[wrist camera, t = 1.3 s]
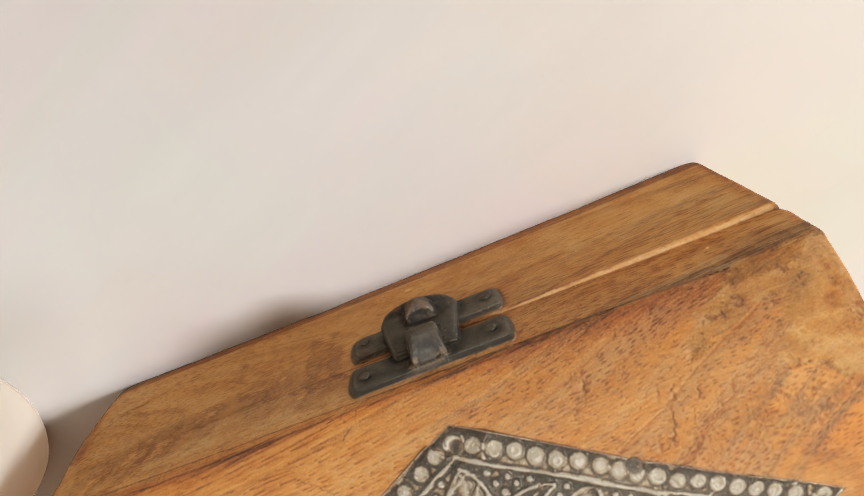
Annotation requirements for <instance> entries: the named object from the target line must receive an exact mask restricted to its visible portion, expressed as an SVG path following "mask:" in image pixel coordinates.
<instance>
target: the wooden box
mask: <svg viewBox="0 0 864 496" xmlns="http://www.w3.org/2000/svg"><path fill="white" fill-rule="evenodd" d="M52 496H864V301H863V299H862V297H861V295H860V293H859V291H858V289H857V287H856V285H855V284H854V282H853V280H852V278H851V276H850V274H849V273H848V271H847V269H846V268H845V266H844V265H843V263H842V261H841V260H840V258H839V256H838V255H837V253H836V252H835V250H834V249H833V247H832V245H831V244H830V243H829V241H828V239H827V237H826V236H825V234H824V233H823V231H822V230H820V229H819V228H817V227H815V226H813V225H812V224H810V223H808V222H806V221H804V220H803V219H801V218H799V217H798V216H796V215H795V214H793V213H791V212H789V211H787V210H782V209H779V207H778V205H777V204H775V203H774V202H772V201H770V200H769V199H766V198H765V197H763V196H761V195H759V194H757V193H755V192H753V191H751V190H749V189H747V188H745V187H744V186H742V185H740V184H738V183H736V182H734V181H732V180H730V179H728V178H726V177H724V176H722V175H720V174H718V173H716V172H714V171H712V170H711V169H708V168H706V167H705V166H703V165H700V164H698V163H689V164H685V165H682V166H679V167H676V168H674V169H672V170H669V171H667V172H665V173H662V174H660V175H657V176H655V177H652V178H650V179H648V180H645V181H643V182H640V183H638V184H636V185H634V186H631V187H629V188H626V189H624V190H621V191H619V192H616V193H614V194H612V195H609V196H607V197H605V198H602V199H600V200H598V201H595V202H593V203H591V204H588V205H586V206H583V207H581V208H579V209H576V210H574V211H572V212H569V213H566V214H564V215H561V216H559V217H556V218H553V219H551V220H548V221H546V222H543V223H541V224H538V225H536V226H533V227H531V228H529V229H526V230H524V231H521V232H519V233H516V234H514V235H512V236H509V237H506V238H504V239H502V240H499V241H497V242H494V243H492V244H489V245H487V246H485V247H482V248H480V249H478V250H475V251H473V252H470V253H468V254H465V255H463V256H461V257H458V258H456V259H453V260H451V261H448V262H446V263H443V264H440V265H438V266H435V267H432V268H430V269H428V270H425V271H423V272H420V273H418V274H415V275H413V276H410V277H408V278H406V279H403V280H401V281H398V282H396V283H394V284H391V285H388V286H386V287H383V288H381V289H378V290H376V291H373V292H371V293H368V294H366V295H363V296H361V297H359V298H356V299H354V300H351V301H349V302H347V303H345V304H343V305H341V306H338V307H336V308H334V309H331V310H329V311H326V312H324V313H321V314H319V315H316V316H313V317H309V318H306V319H303V320H300V321H298V322H295V323H293V324H291V325H288V326H286V327H283V328H280V329H278V330H275V331H273V332H270V333H267V334H265V335H262V336H260V337H257V338H255V339H252V340H250V341H247V342H244V343H242V344H239V345H237V346H234V347H231V348H229V349H226V350H224V351H221V352H219V353H216V354H214V355H211V356H209V357H206V358H204V359H201V360H199V361H196V362H194V363H191V364H188V365H186V366H183V367H181V368H178V369H175V370H172V371H170V372H167V373H164V374H162V375H159V376H157V377H154V378H151V379H149V380H146V381H144V382H141V383H139V384H136V385H134V386H132V387H130V388H128V389H127V390H125V391H124V392H123V393H122V394H121V395H120V396H119V397H118V398H117V399H116V400H115V401H114V402H113V404H112V405H111V406H110V407H109V409H108V410H107V411H106V413H105V414H104V415H103V417H102V418H101V420H100V421H99V422H98V423H97V425H96V426H95V427H94V429H93V430H92V432H91V433H90V434H89V436H88V437H87V438H86V440H85V441H84V442H83V444H82V445H81V447H80V448H79V450H78V452H77V453H76V455H75V457H74V458H73V460H72V462H71V464H70V466H69V468H68V470H67V472H66V473H65V475H64V477H63V479H62V481H61V484H60V485H59V486H58V488H57V489H56V490H55V492H54V494H53V495H52Z"/></svg>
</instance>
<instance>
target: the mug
mask: <svg viewBox="0 0 864 496" xmlns="http://www.w3.org/2000/svg"><path fill="white" fill-rule="evenodd" d="M48 458H49V443H48V437H47V433H46V429H45V426H44V424H43V421H42V419H41V417H40V416H39V414H38V412H37V411H36V409H35V408H34V407H33V405H32V404H31V403H30V402H29V401H28V400H27V398H26V397H25V396H24V395H23V394H21V393H20V392H19V391H18V390H16V389H15V388H14V387H12V386H11V385H9V384H8V383H6V382H5V381H3V380H1V379H0V496H34V494H35V492H36V491H37V489H38V487H39V485H40V483H41V481H42V479H43V476H44V474H45V471H46V467H47V463H48Z"/></svg>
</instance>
